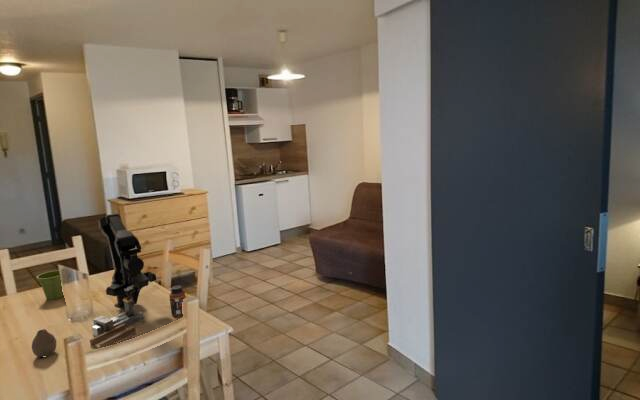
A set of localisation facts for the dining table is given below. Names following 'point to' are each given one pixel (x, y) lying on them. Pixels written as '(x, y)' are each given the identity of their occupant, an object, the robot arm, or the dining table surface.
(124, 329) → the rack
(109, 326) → the socket
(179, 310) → the supplement bottle
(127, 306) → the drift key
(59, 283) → the plant pot
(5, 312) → the dining table surface
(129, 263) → the robot arm
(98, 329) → the bar
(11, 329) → the dining table surface
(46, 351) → the vase
